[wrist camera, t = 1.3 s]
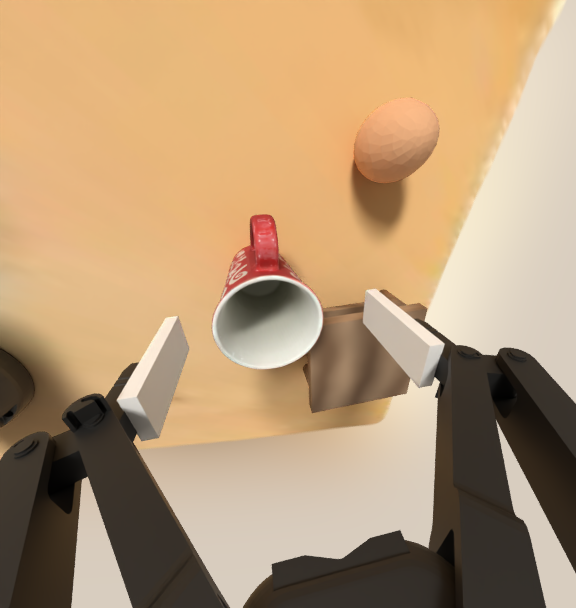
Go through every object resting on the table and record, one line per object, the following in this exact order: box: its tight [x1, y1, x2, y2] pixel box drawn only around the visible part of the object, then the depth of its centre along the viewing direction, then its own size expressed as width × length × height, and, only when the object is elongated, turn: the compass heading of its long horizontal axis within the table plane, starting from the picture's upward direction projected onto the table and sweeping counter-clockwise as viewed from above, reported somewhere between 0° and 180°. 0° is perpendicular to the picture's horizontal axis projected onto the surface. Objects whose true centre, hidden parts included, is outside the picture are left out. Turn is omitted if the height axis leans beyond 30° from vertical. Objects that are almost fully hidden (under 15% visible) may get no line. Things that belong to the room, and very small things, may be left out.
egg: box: [354, 98, 439, 183], centre depth 22 cm, size 7×7×9 cm
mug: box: [212, 214, 323, 369], centre depth 24 cm, size 13×9×14 cm
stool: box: [303, 290, 427, 413], centre depth 34 cm, size 15×15×8 cm
